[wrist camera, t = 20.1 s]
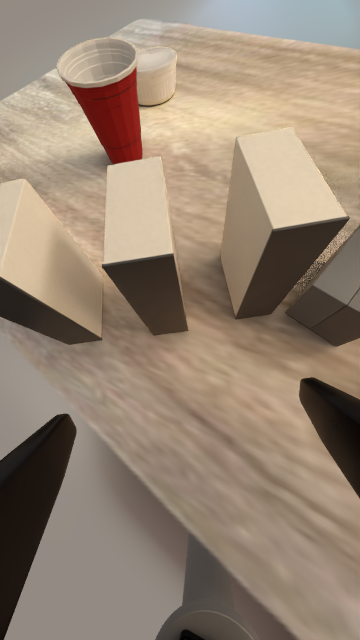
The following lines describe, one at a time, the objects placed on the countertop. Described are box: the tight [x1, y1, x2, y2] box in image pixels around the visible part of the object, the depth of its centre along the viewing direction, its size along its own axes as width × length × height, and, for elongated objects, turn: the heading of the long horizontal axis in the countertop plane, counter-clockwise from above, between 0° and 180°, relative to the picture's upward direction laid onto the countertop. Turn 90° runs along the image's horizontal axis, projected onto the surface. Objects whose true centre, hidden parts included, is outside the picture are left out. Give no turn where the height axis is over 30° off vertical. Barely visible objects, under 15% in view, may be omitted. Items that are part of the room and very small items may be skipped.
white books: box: [0, 127, 350, 345], centre depth 19 cm, size 9×24×13 cm, turn 97°
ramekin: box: [137, 47, 177, 106], centre depth 42 cm, size 11×11×5 cm
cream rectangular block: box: [102, 156, 188, 335], centre depth 19 cm, size 9×4×13 cm, turn 6°
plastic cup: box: [56, 37, 142, 164], centre depth 31 cm, size 11×11×12 cm
